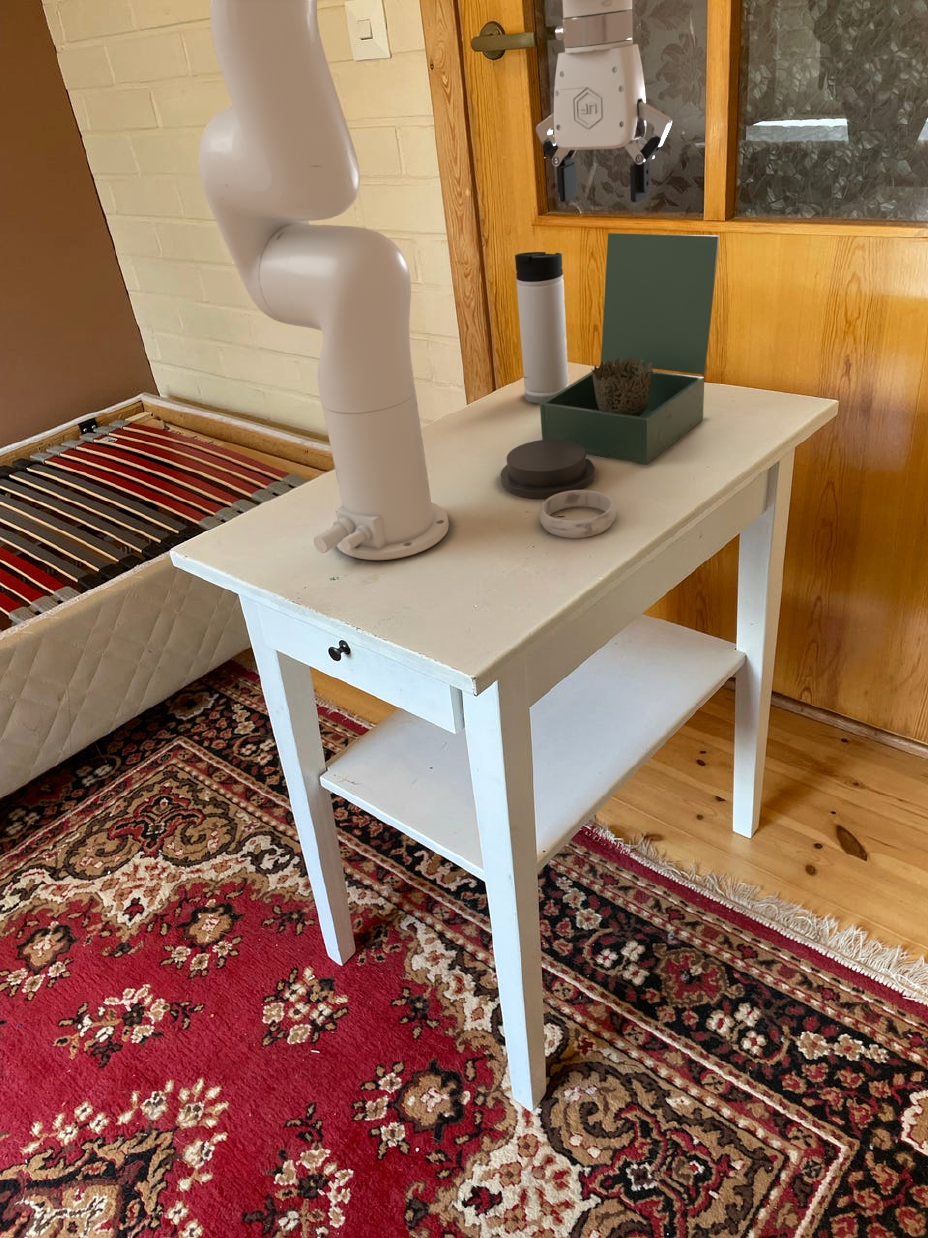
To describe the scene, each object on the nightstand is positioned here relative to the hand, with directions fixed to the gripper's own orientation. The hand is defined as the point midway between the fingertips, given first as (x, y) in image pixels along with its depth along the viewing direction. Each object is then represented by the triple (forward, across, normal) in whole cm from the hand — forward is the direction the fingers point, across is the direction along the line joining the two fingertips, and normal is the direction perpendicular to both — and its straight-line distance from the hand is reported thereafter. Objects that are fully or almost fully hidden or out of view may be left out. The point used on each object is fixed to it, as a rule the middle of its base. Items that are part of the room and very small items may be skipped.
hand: (603, 199), depth 113 cm
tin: (+26, +6, -7) cm, 28 cm away
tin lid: (+12, +6, +2) cm, 14 cm away
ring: (+26, +13, -31) cm, 43 cm away
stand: (+26, +4, -23) cm, 35 cm away
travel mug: (+26, -10, 0) cm, 28 cm away
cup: (+26, +6, -7) cm, 27 cm away
